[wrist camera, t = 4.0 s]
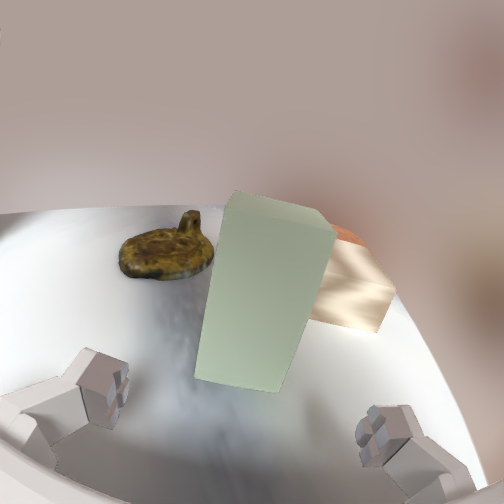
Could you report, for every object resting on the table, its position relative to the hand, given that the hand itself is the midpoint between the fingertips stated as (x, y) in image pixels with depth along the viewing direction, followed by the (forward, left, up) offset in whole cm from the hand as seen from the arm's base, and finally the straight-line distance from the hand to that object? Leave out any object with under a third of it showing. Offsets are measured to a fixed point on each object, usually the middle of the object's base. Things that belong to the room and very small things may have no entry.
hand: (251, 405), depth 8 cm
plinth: (+7, +22, -6) cm, 23 cm away
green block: (0, +9, -6) cm, 10 cm away
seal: (-9, +23, -6) cm, 25 cm away
